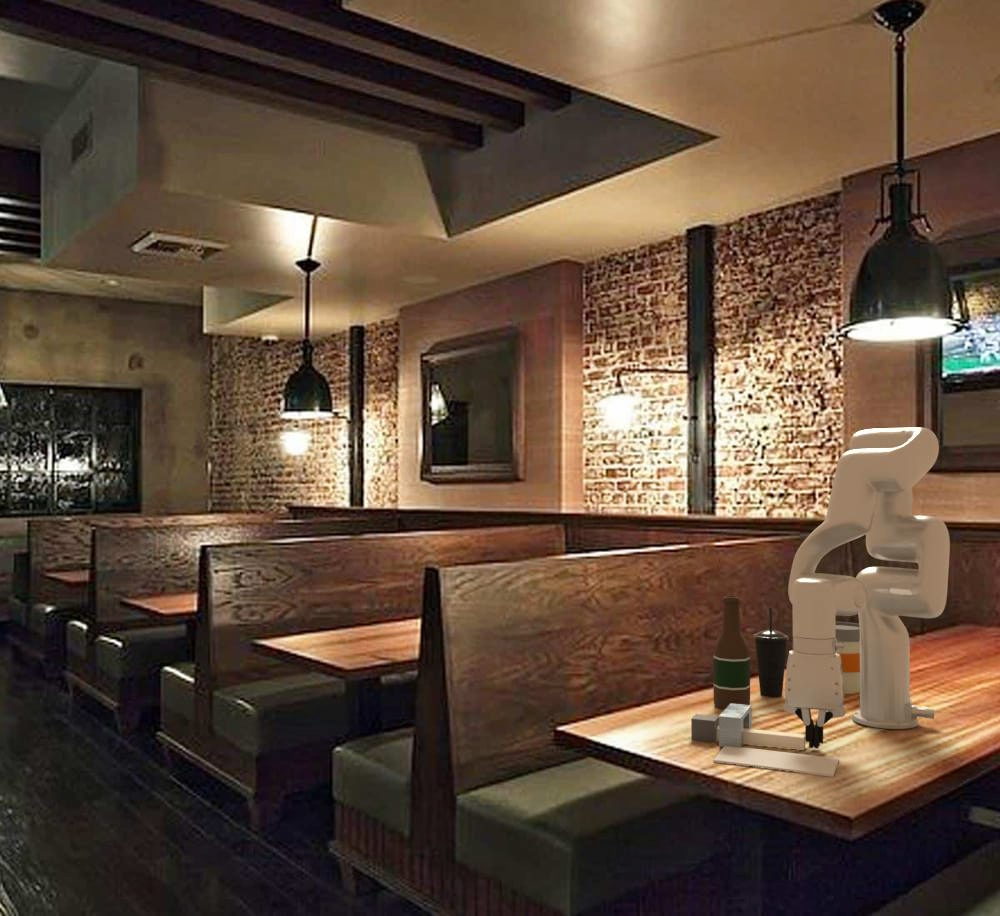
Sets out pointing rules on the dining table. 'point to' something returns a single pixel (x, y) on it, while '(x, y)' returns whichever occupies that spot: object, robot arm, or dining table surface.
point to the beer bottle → (731, 659)
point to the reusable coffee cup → (849, 655)
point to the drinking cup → (771, 660)
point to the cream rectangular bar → (744, 734)
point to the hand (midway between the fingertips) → (814, 746)
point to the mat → (778, 760)
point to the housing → (734, 724)
